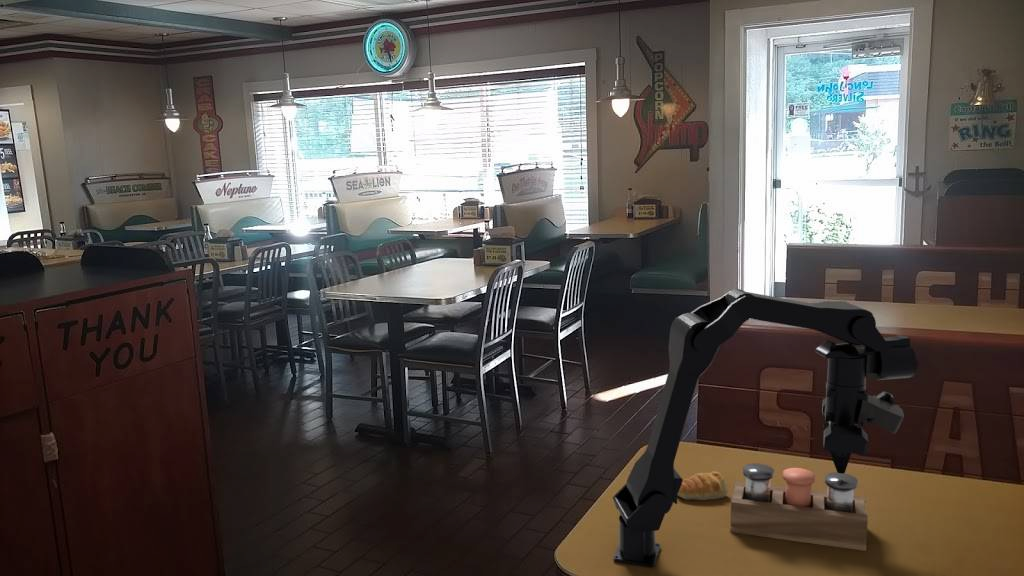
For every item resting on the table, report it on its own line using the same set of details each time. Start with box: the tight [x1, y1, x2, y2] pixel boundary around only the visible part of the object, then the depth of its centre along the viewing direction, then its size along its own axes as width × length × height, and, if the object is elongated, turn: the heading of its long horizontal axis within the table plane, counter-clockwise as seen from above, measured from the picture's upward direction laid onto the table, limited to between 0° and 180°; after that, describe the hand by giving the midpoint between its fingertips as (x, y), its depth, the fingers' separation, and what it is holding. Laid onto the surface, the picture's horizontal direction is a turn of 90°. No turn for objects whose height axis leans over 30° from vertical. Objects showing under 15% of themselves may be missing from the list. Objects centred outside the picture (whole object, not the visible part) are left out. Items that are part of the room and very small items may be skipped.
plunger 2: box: [824, 471, 859, 513], centre depth 131 cm, size 5×5×6 cm
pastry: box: [677, 470, 729, 501], centre depth 148 cm, size 9×7×4 cm
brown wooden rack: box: [729, 481, 868, 552], centre depth 134 cm, size 9×21×5 cm, turn 70°
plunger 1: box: [742, 463, 775, 503], centre depth 135 cm, size 5×5×6 cm
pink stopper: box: [782, 467, 816, 508], centre depth 133 cm, size 5×5×6 cm
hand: (840, 472), depth 130 cm, fingers closed
